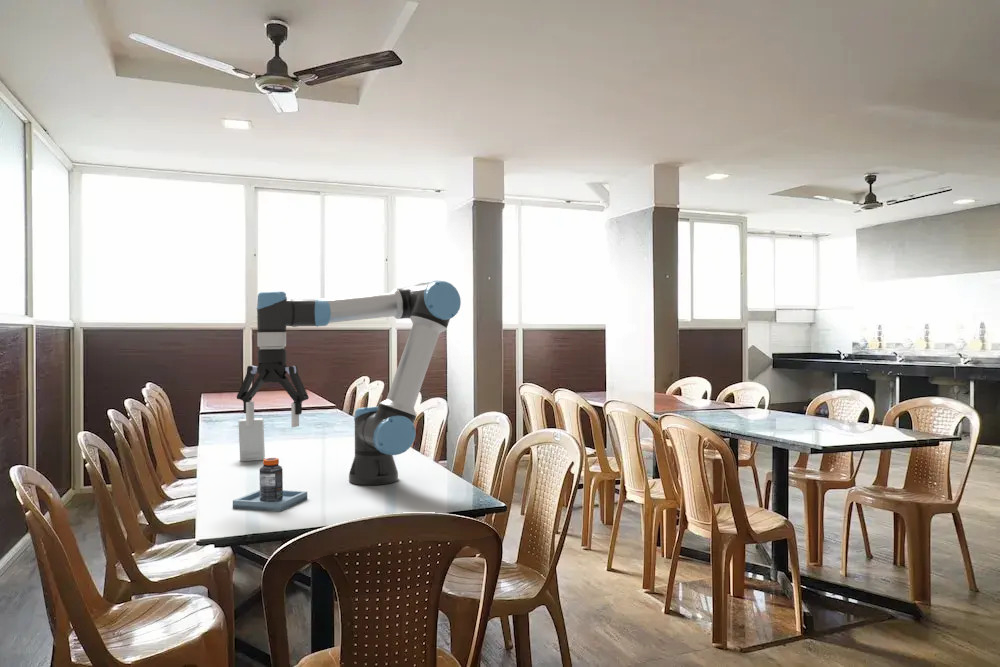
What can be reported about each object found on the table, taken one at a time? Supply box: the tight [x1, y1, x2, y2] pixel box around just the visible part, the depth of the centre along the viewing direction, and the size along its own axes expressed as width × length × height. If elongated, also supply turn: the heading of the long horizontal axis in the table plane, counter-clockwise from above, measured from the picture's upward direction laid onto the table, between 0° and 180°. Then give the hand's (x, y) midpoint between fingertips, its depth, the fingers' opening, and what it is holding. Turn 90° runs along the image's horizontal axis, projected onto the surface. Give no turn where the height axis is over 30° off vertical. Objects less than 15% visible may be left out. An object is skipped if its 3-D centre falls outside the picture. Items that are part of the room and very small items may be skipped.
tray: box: [232, 489, 308, 512], centre depth 192 cm, size 14×14×2 cm
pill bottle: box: [259, 457, 284, 502], centre depth 192 cm, size 6×6×11 cm
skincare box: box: [238, 417, 266, 462], centre depth 256 cm, size 8×6×15 cm
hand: (272, 426), depth 193 cm, fingers open, 13 cm apart
